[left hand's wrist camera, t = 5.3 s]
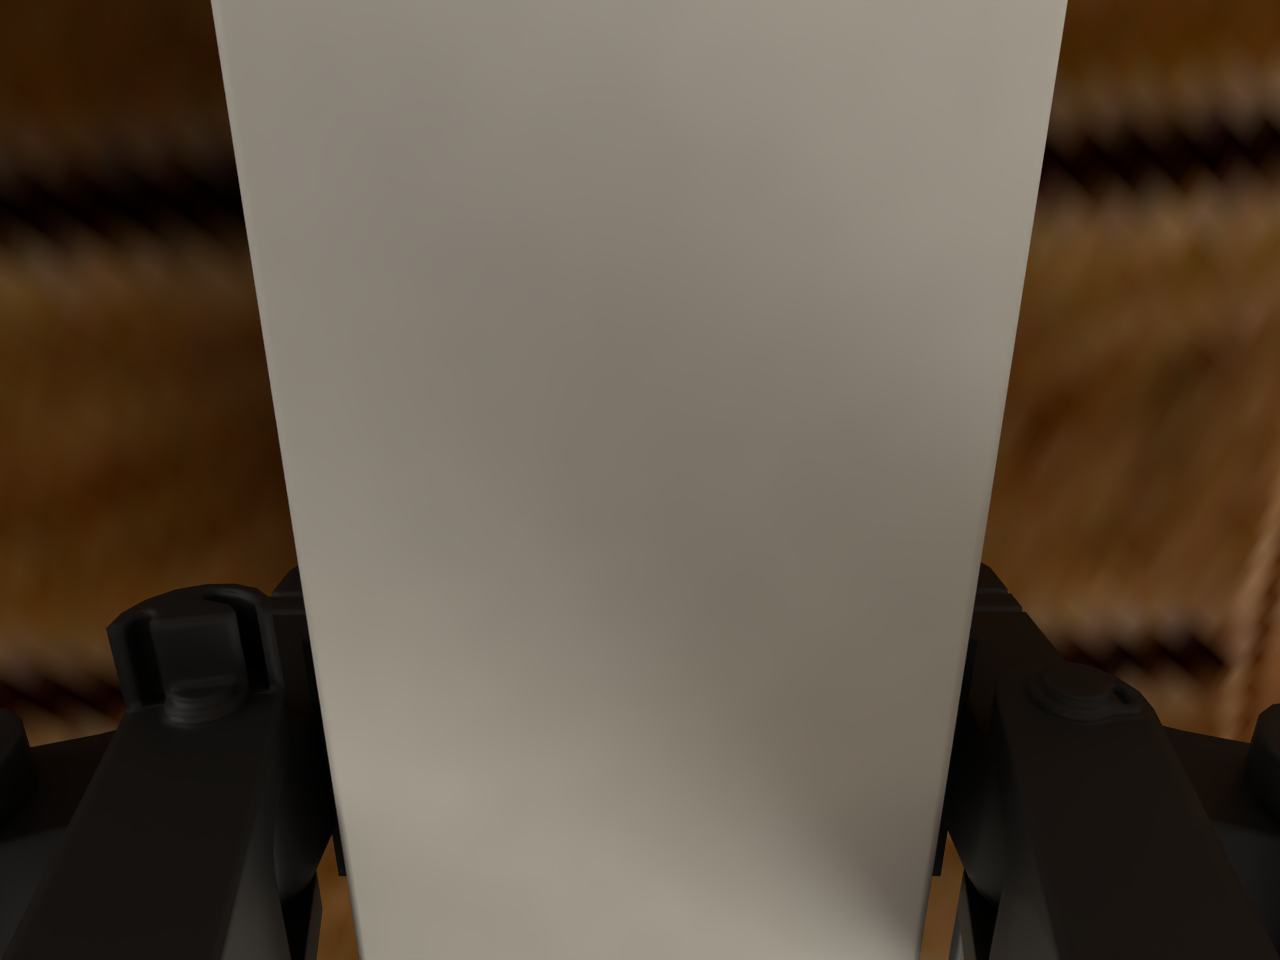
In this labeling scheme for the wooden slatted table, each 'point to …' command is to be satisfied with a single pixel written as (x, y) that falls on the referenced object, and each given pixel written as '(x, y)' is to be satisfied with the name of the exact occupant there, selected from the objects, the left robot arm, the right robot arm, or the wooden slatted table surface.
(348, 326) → the bar
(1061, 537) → the wooden slatted table surface
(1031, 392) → the wooden slatted table surface
